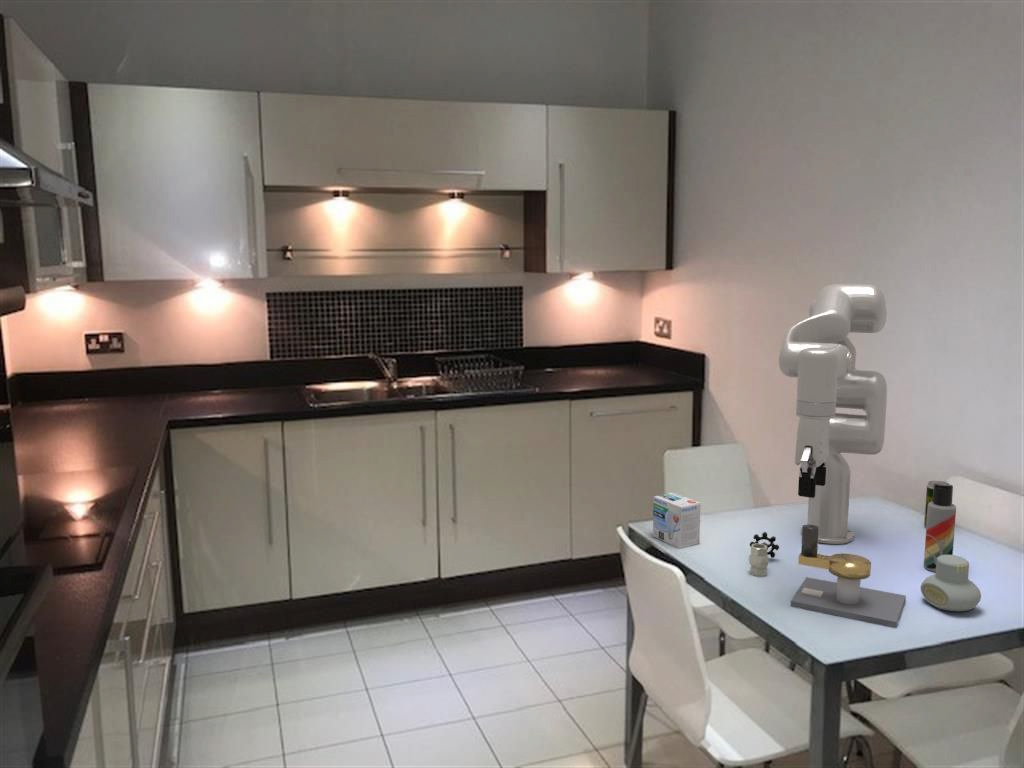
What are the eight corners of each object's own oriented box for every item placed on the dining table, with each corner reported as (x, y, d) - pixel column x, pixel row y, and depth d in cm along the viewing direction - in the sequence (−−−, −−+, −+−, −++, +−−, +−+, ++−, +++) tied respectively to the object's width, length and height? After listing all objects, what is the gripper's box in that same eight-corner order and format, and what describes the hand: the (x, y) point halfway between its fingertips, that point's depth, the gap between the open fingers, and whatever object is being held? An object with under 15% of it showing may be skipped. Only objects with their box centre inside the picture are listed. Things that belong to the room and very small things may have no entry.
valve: (772, 579, 189) (778, 560, 200) (773, 551, 188) (779, 533, 199) (741, 575, 192) (749, 556, 203) (742, 547, 191) (750, 530, 202)
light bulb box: (651, 536, 217) (652, 495, 215) (671, 531, 220) (672, 491, 218) (680, 549, 208) (680, 507, 206) (700, 544, 211) (701, 502, 209)
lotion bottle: (924, 571, 192) (930, 486, 188) (922, 562, 197) (928, 479, 193) (953, 574, 190) (959, 488, 186) (949, 565, 195) (956, 481, 192)
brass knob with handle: (804, 556, 182) (805, 520, 181) (873, 568, 175) (875, 530, 174) (795, 569, 176) (797, 531, 174) (866, 582, 169) (869, 543, 167)
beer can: (938, 524, 222) (941, 479, 220) (951, 531, 217) (955, 485, 215) (919, 525, 221) (922, 481, 219) (932, 532, 216) (936, 487, 214)
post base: (806, 582, 187) (807, 551, 186) (905, 601, 177) (907, 569, 176) (790, 606, 175) (791, 574, 174) (896, 627, 165) (898, 593, 164)
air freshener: (987, 613, 171) (991, 565, 169) (956, 620, 168) (960, 572, 166) (942, 592, 181) (946, 547, 179) (912, 598, 178) (915, 553, 176)
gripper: (806, 400, 181) (802, 478, 184) (786, 414, 167) (782, 498, 170) (843, 403, 178) (839, 483, 180) (826, 418, 163) (822, 504, 166)
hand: (811, 490), depth 175 cm, fingers open, 9 cm apart
